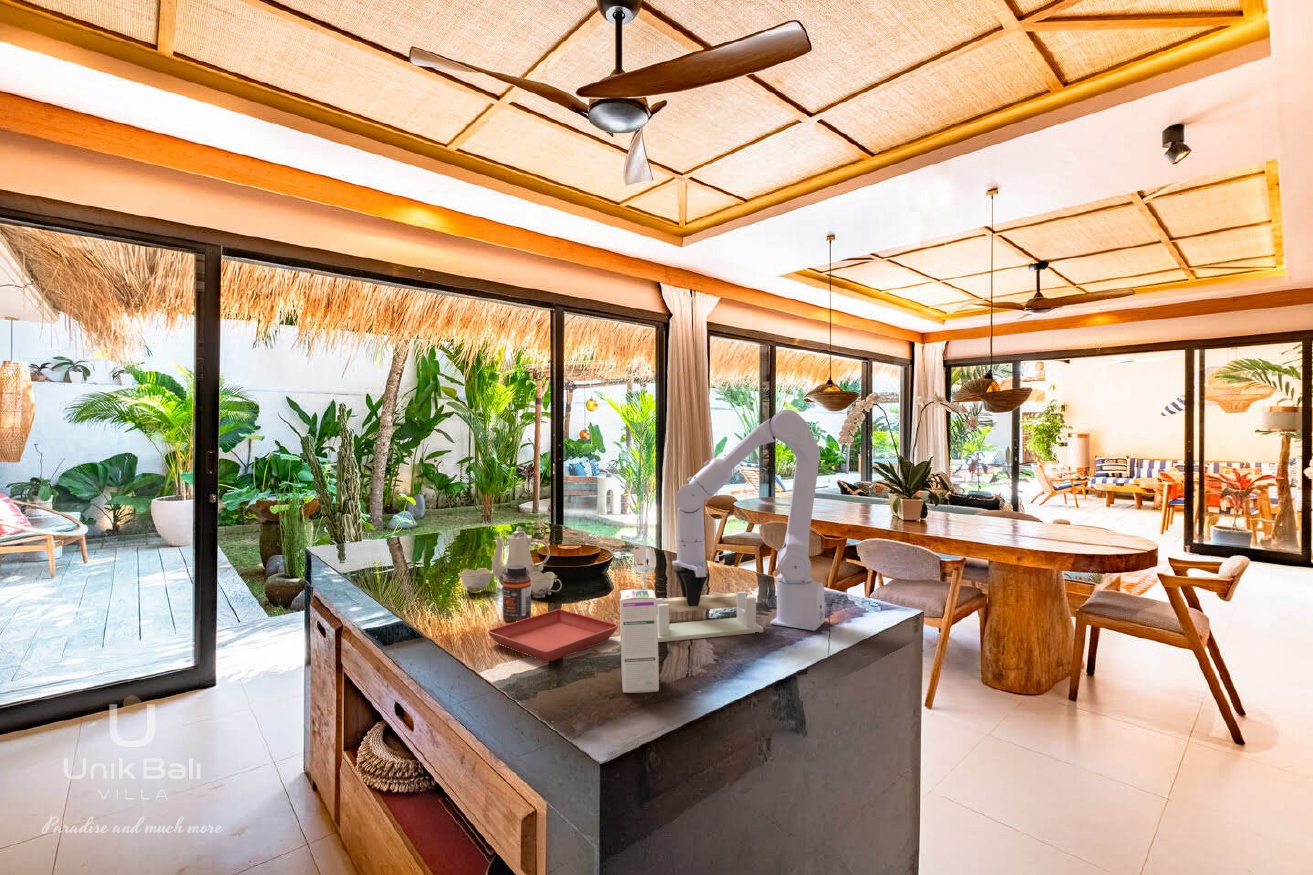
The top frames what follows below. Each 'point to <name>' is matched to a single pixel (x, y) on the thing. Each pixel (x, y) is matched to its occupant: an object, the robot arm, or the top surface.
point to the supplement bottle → (516, 594)
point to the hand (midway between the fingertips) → (691, 603)
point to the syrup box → (639, 641)
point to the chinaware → (517, 556)
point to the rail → (702, 602)
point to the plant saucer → (553, 634)
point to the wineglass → (644, 561)
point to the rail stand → (709, 622)
